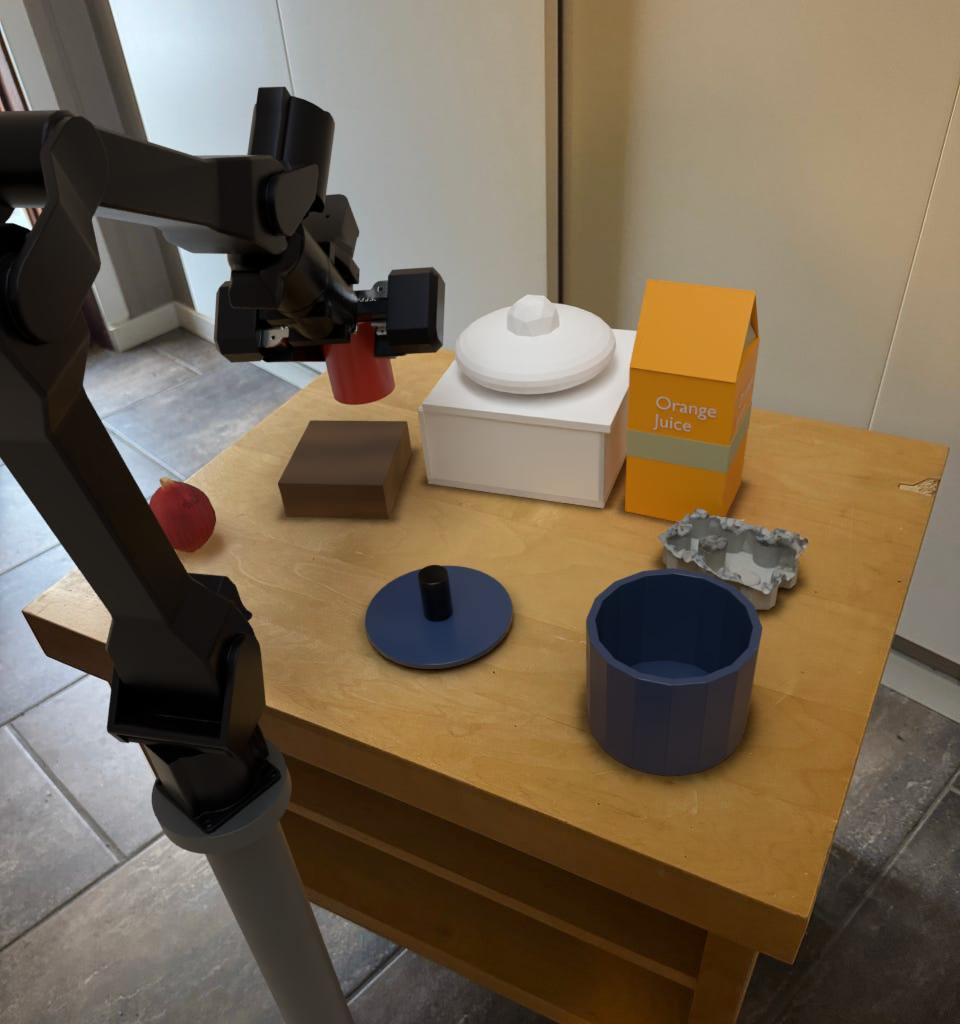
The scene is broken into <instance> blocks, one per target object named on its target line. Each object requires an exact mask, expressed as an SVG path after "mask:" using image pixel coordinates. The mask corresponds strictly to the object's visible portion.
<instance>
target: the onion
mask: <svg viewBox="0 0 960 1024" xmlns="http://www.w3.org/2000/svg"><path fill="white" fill-rule="evenodd" d="M159 482H160V486H159V487H157V489H156V490H155V491H154V493H153V494H152V496H151V497H150V499H149V502H148V504H149V506H150V507H151V509H152V511H153V513H154V515H155V516H156V518H157V520H158V522H159V523H160V525H161V527H162V529H163V530H164V532H165V534H166V536H167V537H168V539H169V541H170V543H171V545H172V546H173V548H174V550H175V551H179V552H184V553H189V554H192V553H195V552H196V551H198V550H200V549H201V548H203V546H204V545H206V543H208V542H209V541H210V539H211V537H212V536H213V534H214V531H215V528H216V524H217V515H216V510H215V509H214V506H213V504H212V502H211V500H210V498H209V497H208V496H207V494H206V493H205V492H204V491H203V490H202V489H201V488H198V487H197V486H195V485H192V484H191V483H190V484H189V483H187V482H184V481H177V480H173V479H172V478H170V477H168V476H164V477H161V478H159Z"/></svg>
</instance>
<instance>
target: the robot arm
mask: <svg viewBox="0 0 960 1024" xmlns="http://www.w3.org/2000/svg"><path fill="white" fill-rule="evenodd" d="M335 129H336V123H335V119H334V117H333V115H332V114H331V113H330V112H329V111H328V110H324V109H323V108H321V107H320V106H318V105H317V104H315V103H313V102H311V101H309V100H307V99H304V98H301V97H297V96H294V95H291V93H290V91H289V90H288V89H287V87H286V86H260V87H258V88H257V95H256V102H255V104H254V106H253V109H252V117H251V124H250V132H249V139H248V146H247V152H246V153H247V154H217V155H215V154H213V155H210V154H207V155H205V154H203V155H200V154H199V155H193V154H190V153H187V152H183V151H180V150H176V149H173V148H171V147H167V146H164V145H161V144H158V143H154V142H151V141H148V140H144V139H141V138H138V137H135V136H132V135H129V134H125V133H123V132H122V133H121V132H119V131H116V130H113V129H110V128H107V127H104V126H99V125H96V124H95V123H93V122H92V121H90V120H88V119H87V118H86V117H84V116H82V115H76V114H75V113H74V112H73V111H70V110H68V109H47V110H46V109H45V110H2V111H1V110H0V460H1V461H2V463H3V464H4V465H5V467H6V469H7V470H8V471H9V472H10V474H11V476H12V477H13V478H14V480H15V481H16V483H17V484H18V485H19V487H20V488H21V490H22V491H23V493H24V494H25V495H26V497H27V498H28V499H29V501H30V502H31V504H32V505H33V506H34V508H35V510H36V511H37V512H38V514H39V515H40V516H41V518H42V519H43V521H44V522H45V523H46V525H47V527H48V528H49V530H50V531H51V532H52V533H53V536H55V538H56V539H57V541H58V542H59V543H60V545H61V546H62V548H63V549H64V550H65V552H66V553H67V555H68V556H69V558H70V559H71V560H72V562H73V563H74V565H75V566H76V568H77V569H78V571H79V572H80V573H81V575H82V576H83V578H84V579H85V580H86V582H87V583H88V584H89V586H90V587H91V589H92V590H93V592H94V593H95V594H96V596H97V597H98V599H99V600H100V601H101V603H102V604H103V606H104V608H105V609H106V610H107V611H108V613H109V615H110V616H111V621H110V625H109V629H108V634H107V638H106V642H105V650H106V652H107V654H108V656H109V658H110V660H111V662H112V664H113V669H112V677H111V678H112V679H111V686H110V696H109V704H108V712H107V720H106V732H107V733H108V734H109V735H110V736H112V737H113V738H114V739H116V740H117V741H118V742H120V743H125V744H129V743H135V744H140V745H141V744H142V745H143V747H144V749H145V751H146V753H147V755H148V758H149V759H150V762H151V763H152V765H153V767H154V769H155V771H156V773H157V776H158V775H159V777H160V778H159V779H158V780H157V781H156V783H155V782H154V783H155V786H156V788H157V790H158V791H159V792H160V793H161V794H162V795H163V796H164V797H165V798H166V799H167V800H168V801H170V802H171V803H172V804H173V805H174V806H175V807H176V808H177V809H178V810H179V811H180V812H182V813H183V814H184V815H185V816H186V817H187V818H188V819H189V820H190V821H191V822H193V823H194V824H195V825H196V826H197V827H198V828H199V829H200V830H201V831H202V832H203V833H205V834H212V833H213V832H215V831H216V830H217V829H219V828H220V827H221V826H223V825H224V824H225V823H226V822H228V821H229V820H230V819H231V818H233V817H234V816H235V815H236V814H238V813H239V812H240V811H241V810H243V809H244V808H245V807H247V806H248V805H249V804H250V803H252V802H253V801H254V800H255V799H257V798H258V797H259V796H260V795H262V794H263V793H264V792H265V791H267V790H268V789H269V788H271V787H272V786H273V785H274V784H276V783H277V782H278V781H279V780H280V779H281V773H280V771H279V769H278V768H276V767H275V766H274V765H273V764H271V763H270V762H269V761H267V760H266V759H265V758H267V757H268V756H269V750H268V747H267V744H266V741H265V738H266V737H265V736H264V733H263V730H262V728H261V725H260V722H259V721H260V720H261V717H262V716H263V714H264V712H265V710H266V708H267V701H266V700H267V699H266V691H265V690H266V689H265V679H264V669H263V657H262V649H261V645H260V642H259V639H257V636H256V633H255V631H254V628H253V627H252V625H251V623H250V622H249V621H250V620H252V619H253V612H251V611H250V610H248V609H247V608H246V606H245V605H244V603H243V601H242V599H241V596H240V593H239V590H238V587H237V585H236V584H235V583H234V582H233V581H232V580H231V578H230V577H228V576H227V575H220V574H219V575H218V574H208V573H197V572H188V571H187V569H186V568H185V565H184V564H183V563H182V562H183V561H182V560H181V559H180V557H179V555H178V553H177V552H176V550H175V549H174V548H173V546H172V545H171V543H170V541H169V539H168V537H167V536H166V534H165V532H164V530H163V529H162V527H161V525H160V523H159V522H158V520H157V518H156V516H155V515H154V513H153V511H152V509H151V507H150V506H149V502H148V500H147V499H146V497H145V495H144V494H143V491H142V490H141V487H140V485H138V483H137V481H136V479H135V477H134V476H133V474H132V472H131V470H130V469H129V467H128V465H127V463H126V462H125V460H124V457H123V456H122V455H121V453H120V450H119V449H118V448H117V446H116V444H115V442H114V440H113V439H112V437H111V435H110V433H109V431H108V430H107V428H106V426H105V424H104V423H103V421H102V419H101V418H100V417H101V416H99V414H98V412H97V410H96V409H95V406H94V405H93V403H92V401H91V400H90V398H89V396H88V394H87V391H86V390H85V386H84V381H85V376H86V375H85V374H86V367H87V361H88V355H89V347H90V341H91V332H90V329H89V325H88V324H87V320H86V318H85V316H84V313H83V310H82V307H83V305H84V303H85V301H86V299H87V297H88V295H89V293H90V291H91V289H92V287H93V285H94V282H95V281H96V279H97V277H98V276H99V275H98V274H99V273H100V271H101V268H102V267H101V266H102V261H101V256H100V252H99V247H98V242H97V238H96V234H95V228H94V223H93V218H94V217H96V218H97V217H98V218H103V219H104V218H105V219H110V220H117V221H120V222H121V221H122V222H126V223H134V224H139V225H144V226H151V227H155V228H156V229H158V230H160V231H161V237H162V238H163V239H164V240H165V241H166V242H168V243H170V244H172V245H174V246H176V247H178V248H180V249H182V250H184V251H186V252H188V253H191V254H199V255H200V254H201V255H203V254H205V255H206V254H208V255H226V257H227V258H226V259H227V263H228V266H229V268H230V278H229V280H225V281H224V282H223V283H221V285H220V286H219V287H218V288H217V291H216V294H215V310H214V326H213V327H214V328H213V342H214V345H215V348H216V351H218V353H219V354H220V355H222V356H223V358H225V359H226V360H227V361H229V362H230V363H235V364H236V363H250V362H251V363H254V362H261V361H263V362H264V363H268V364H269V363H270V364H271V363H326V362H325V358H324V354H323V350H322V345H329V344H348V343H351V335H356V334H357V333H358V328H359V325H358V323H359V322H371V326H372V327H373V329H375V342H374V357H377V358H386V359H390V360H396V359H397V357H405V356H407V355H418V354H419V355H420V354H434V353H435V354H436V353H437V352H438V351H439V350H441V348H442V347H443V346H444V329H445V302H446V301H445V299H446V282H445V281H444V279H443V276H442V274H441V273H439V272H438V270H436V268H435V267H434V266H429V267H426V266H425V267H413V268H397V269H391V271H390V272H389V273H388V275H387V280H377V281H376V282H375V283H374V284H373V285H372V287H371V288H370V289H361V290H360V289H358V290H354V285H359V284H360V272H361V271H360V267H359V266H358V265H357V264H356V262H355V261H354V256H355V251H356V246H357V241H358V238H359V236H360V229H359V226H358V223H357V220H356V218H355V215H354V213H353V210H352V207H351V205H350V202H349V199H348V197H347V196H346V195H344V194H342V193H334V194H333V193H332V194H327V190H328V185H329V184H328V183H329V175H330V169H331V162H332V161H331V160H332V152H333V145H334V138H335V132H336V131H335ZM15 209H42V210H41V212H40V213H39V215H38V217H37V219H36V221H35V223H34V225H33V226H32V228H31V229H29V228H28V227H25V226H23V225H19V224H17V223H14V222H7V221H9V219H10V218H11V217H12V215H13V214H14V211H15ZM275 774H276V775H275ZM272 775H275V776H274V777H271V776H272ZM162 784H163V786H161V785H162ZM209 825H211V827H209V828H206V827H207V826H209Z"/></svg>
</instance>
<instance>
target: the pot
mask: <svg viewBox="0 0 960 1024" xmlns="http://www.w3.org/2000/svg"><path fill="white" fill-rule="evenodd" d="M762 634H763V626H762V623H761V620H760V617H759V615H758V613H757V610H756V609H755V607H754V605H753V604H752V603H751V602H750V601H749V600H748V599H747V598H746V597H745V596H744V595H743V594H742V593H741V592H740V591H738V590H737V589H736V588H735V587H734V586H733V585H730V584H728V583H726V582H724V581H721V580H719V579H717V578H715V577H713V576H710V575H708V574H705V573H700V572H693V571H687V570H681V569H674V568H671V569H666V568H661V569H659V568H658V569H649V570H641V571H638V572H636V573H633V574H631V575H628V576H626V577H622V578H620V579H618V580H615V581H613V582H612V583H611V584H610V585H608V587H606V588H605V589H604V590H603V591H602V592H600V593H599V594H598V595H597V596H595V598H594V600H593V602H592V604H591V607H590V609H589V612H588V614H587V616H586V619H585V653H586V654H585V659H586V660H585V662H586V663H585V670H586V671H585V672H586V673H585V676H586V678H585V680H586V681H585V683H586V684H585V685H586V686H585V687H586V688H585V691H586V693H585V695H586V696H585V697H586V700H585V702H586V710H587V721H588V725H589V730H590V731H591V734H592V736H593V737H594V739H595V741H596V742H597V744H598V745H599V746H600V748H602V749H603V750H604V751H605V752H606V753H607V754H608V755H610V757H612V758H613V759H615V760H616V761H618V762H619V763H621V764H623V765H625V766H627V767H629V768H631V769H635V770H637V771H640V772H642V773H647V774H652V775H657V776H658V775H659V776H670V777H672V776H685V775H693V774H695V773H700V772H704V771H706V770H709V769H711V768H713V767H715V766H717V765H719V764H720V763H722V762H723V761H725V760H726V759H728V757H730V756H731V755H732V753H734V752H735V751H736V749H737V748H738V746H739V745H740V743H741V741H742V740H743V738H744V734H745V732H746V726H747V721H748V716H749V711H750V705H751V700H752V693H753V686H754V680H755V676H756V669H757V663H758V658H759V651H760V647H761V645H760V644H761V639H762Z"/></svg>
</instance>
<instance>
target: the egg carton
mask: <svg viewBox="0 0 960 1024" xmlns="http://www.w3.org/2000/svg"><path fill="white" fill-rule="evenodd" d="M656 538H657V539H658V541H659V542H660V543H661V544H662V545H663V546H662V547H663V549H662V563H663V564H664V565H665V566H666V568H665V569H671V568H674V569H681V570H687V571H693V572H700V573H705V574H708V575H710V576H713V577H715V578H717V579H719V580H721V581H724V582H726V583H728V584H730V585H733V586H734V587H735V588H736V589H737V590H738V591H740V592H741V593H742V594H743V595H744V596H745V597H746V598H747V599H748V600H749V601H750V602H751V603H752V604H753V605H754V607H755V609H756V611H757V610H765V611H769V610H770V609H772V608H773V607H775V606H776V601H777V596H778V590H779V589H780V588H784V589H788V590H790V589H792V588H793V587H794V586H795V585H796V584H797V579H798V573H799V570H800V569H799V567H800V560H799V556H801V555H802V553H804V552H805V550H806V549H807V548H808V547H809V540H808V538H807V537H805V536H801V535H800V534H799V533H798V532H795V531H793V532H791V531H790V530H788V529H787V528H786V529H784V528H778V527H775V528H774V529H773V530H769V529H767V528H766V527H764V526H763V525H760V524H759V525H753V524H750V523H746V522H743V521H742V520H741V519H739V518H733V517H728V516H726V517H720V516H717V515H714V516H709V513H708V512H707V511H705V510H703V509H698V508H696V509H695V511H694V513H693V514H692V515H691V516H690V515H689V514H687V515H685V517H684V518H683V520H681V521H679V522H675V523H674V524H672V525H670V526H668V528H667V530H666V531H665V532H664V533H660V534H658V535H657V536H656Z"/></svg>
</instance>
